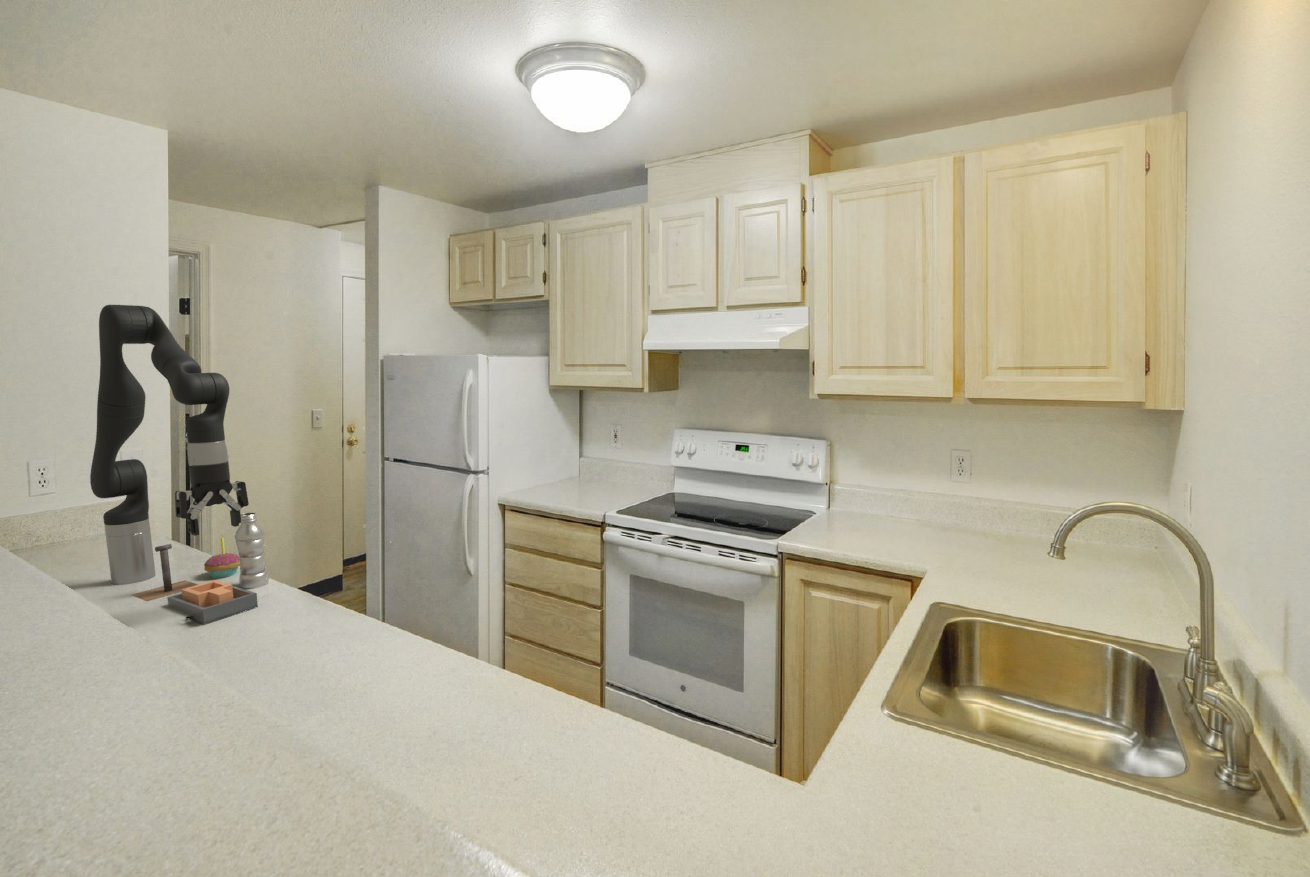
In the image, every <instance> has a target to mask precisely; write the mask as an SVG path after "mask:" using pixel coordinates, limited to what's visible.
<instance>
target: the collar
mask: <svg viewBox="0 0 1310 877" xmlns="http://www.w3.org/2000/svg"><path fill="white" fill-rule="evenodd" d="M232 586H233V585H232V584H231V583H227V582H224V581H220V580H216V579H214V580H210V581H207V582H203V583H199V584H198V585H196V586H192V587H189V588H185V589H182V592H181V593H182V599H183V600H184V601H187V602H189V603H192V604H195V605H198V606H201V607H203V608H206V607H210V606H213V605H216V604H219V603H223V602H226V601H229V600H232V599H235V597H234V596H233V588H232Z"/></svg>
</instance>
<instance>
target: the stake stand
mask: <svg viewBox="0 0 1310 877" xmlns="http://www.w3.org/2000/svg"><path fill="white" fill-rule="evenodd" d="M172 548H173V546H172V543H169V544H163V545H159V546H155V547H154V550H155V552H157V553H158V552H159V556H160V565H161V572H162V582H163V585H161V586H159V587H156V588H150V589H147V590H144V591H141V592H136V593H133V594H131V596H132V597H135V598H138V599H140V600H143V601H146V602H149V601H154V600H157V599H160V598H164V597H169V596H173V595H176V594H180V593H182V589H185V588H189V587H192V586H196V585H199V584H198V583H195V582H192V581H190V580H189V581H188V580H186V579H184V580H181V581H177V582H173V583H172V575H171V566H170V557H169V550H171V549H172Z"/></svg>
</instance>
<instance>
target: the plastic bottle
mask: <svg viewBox="0 0 1310 877" xmlns="http://www.w3.org/2000/svg"><path fill="white" fill-rule="evenodd" d="M240 514H241V523H240V524H239V526H238V528H237V530H236V531H235V532H234V533H235V534H234V540H235V543H236V547H237V550H238V556H239V557H240V566H239V576H238V577H239V579H238V584H239V588H242V589H245V590H252V589H258V588H261V587H265V586H267V585H268V584H269V579H270V578H269V574H268V571H267V568H266V563H265V556H264V542H265V532H264V529H263V528H262V527H261V526H260V525H259V524H258V523H257V521H258V518H257V514H256V512H244V513H240ZM266 578H267V579H266Z"/></svg>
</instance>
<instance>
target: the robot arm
mask: <svg viewBox="0 0 1310 877" xmlns="http://www.w3.org/2000/svg"><path fill="white" fill-rule="evenodd" d="M98 335H99V336H98V337H99V359H100V360H99V361H100V364H99V365H100V366H99V380H98V390H97V391H98V392H97V402H96V404H97V405H96V431H95V433H96V434H95V436H96V437H95V443H94V451H93V454H92V455H93V456H92V462H91V465H90V466H91V467H90V476H89V480H90V481H89V482H90V488H91V491H92V493H93V495H94V497H96V498H98V499H111V498H118V497H125V499H124V500H123V501H122V502H121V503H119V504H118V505H116V506H115V507H112V508H111V509H109V510H107V511H106V512H104V513H103V517H102V518H103V525H104V526H103V527H104V533H105V539H106V549H107V556H108V562H109V563H108V564H109V565H108V566H109V572H110V574H109V575H110V581H111V584H112V585H115V586H116V585H118V586H123V585H133V584H137V583H143V582H145V581H148V580H151V579H153V578H155V577H156V569H155V568H156V567H155V559H154V558H155V557H154V551H153V542H152V534H151V524H150V515H149V510H150V509H149V508H150V505H149V504H150V503H149V488H148V487H149V486H148V485H149V484H148V482H149V481H148V474H147V470H146V466H145V465H144V463H143V462H142V461H141V460H139V459H136V458H135V459H134V458H132V459H131V458H130V459H123V460H121V459H120V460H116V459H117V456H118V453H119V452H120V450H121V448H122V447H123V445H124V444H125V443H126V442H127V441H128V439H129V438H131V436H132V435H133V433H135V431H136V430H137V429H138V428H139V427H140V425H141V424H142V422H143V420H144V417H145V409H146V399H147V398H146V392H145V390H144V388H143V386H142V384H141V383H140V382H139V381H138V379H137V378H136V377H135V375H134V374H133V373H132V372H131V370H130V369H129V367H128V366H127V364H126V362H125V360H124V359H125V358H124V356H123V346H124V345H134V344H135V345H146V344H150V345H152V349H151V352H150V360H151V363H152V365H153V366H154V368H155V369H156V371H158V372H159V374H160V375H161V376H163V377H164V378H165V379H166V380H167V382H168V385H169V386H170V389H171V393H172V396H173V398H174V399H175V400H176V401H177V402H178V403H180V404H181V405H182V404H183V405H186V406H197V405H200V406H201V405H206V407H205V408H204V410H203V412H201V413H199V414H194V415H191V416H190V417H188V418H186V420H185V429H186V437H187V438H186V439H187V440H186V441H187V451H186V452H187V462H188V463H187V464H188V470H189V480H190V481H189V482H190V486H191V487H190V489H189V490H176V491H175V492H174V501H175V502H174V504H175V508H174V509H175V517H176V518H180V519H185V520H186V524H187V531H188V533H189V534H191V536H199V535H200V529H199V528H200V527H199V519H198V518H197V517H198V516H199V514H200V513H201V512H202V511H203V510H204V508H205V507H211V506H213V505H214V506H215V505H222V504H224V505H226V506H227V507H228V508H229V509H230V510H229V515H230V516H229V517H230V525H231V526H232V527H235V528H236V527H239V526H240V524H241V514H242V513H241V509H242V508H244V507H248V506H249V498H248V492H247V484H246V482H245V481H240V480H236V481H235V482H232V483H231V475H230V474H231V472H230V465H229V464H230V463H229V454H228V447H227V444H226V436H225V428H224V424H225V423H224V421H225V416H226V410H227V406H228V401H229V397H230V386H229V382H228V379H227V378H226V377H225V376H224V375H223V374H221V373H219V372H202V368H201V366H200V364H199V363H198V362H197V361H196V360H195V359H194V358H193V357H192V356H191V355H190V354H189V353H188V352H187V351H185V350H184V349H183V348H182V347H181V345H180V344H179V343H178V342H177V340H176V338H175V337H174V336H173V334H172V332H171V331H170V329H169V327H168V326H167V325H166V323H165V321H164V320H163V319H162V317H161V316H160V315H159V314H158V312H157V311H155V309H153V308H151V307H150V306H147V305H146V306H144V305H133V304H132V305H131V304H129V305H128V304H125V305H124V304H106V305H104V306H103V307H102V308H101V311H100V313H99V319H98ZM232 490H233V491H234V492H235V495H236V499H237V501H236V499H234V498H233V497H232V496H231V495H230V493H232ZM190 496H191V497H192V499H193V500H192V502H191V504H190V505H189V509H188V500H189V499H190Z"/></svg>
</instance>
